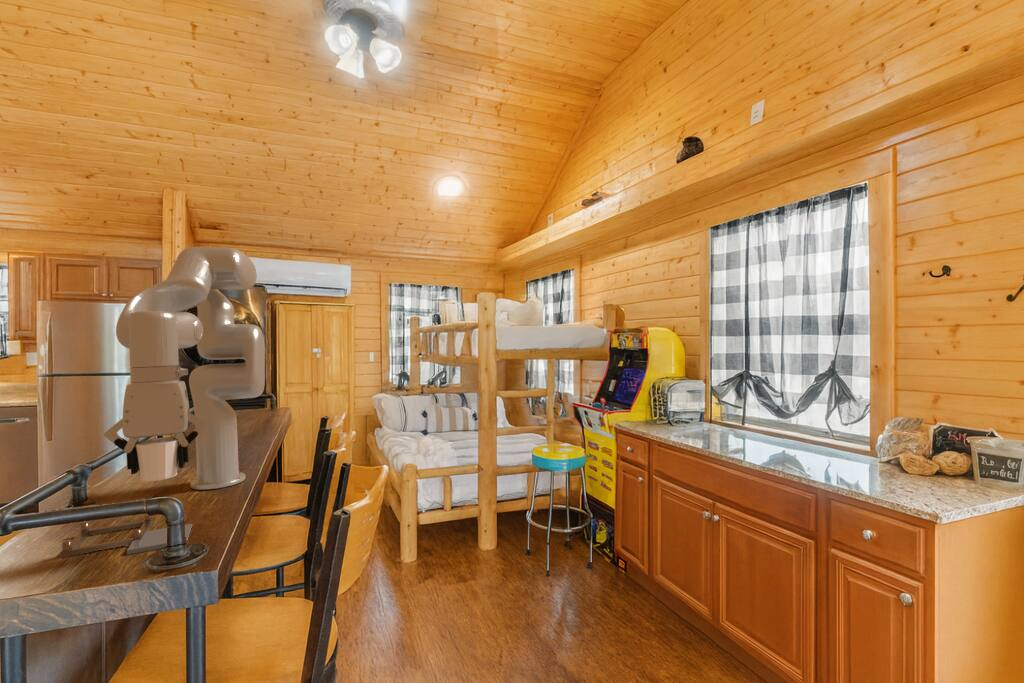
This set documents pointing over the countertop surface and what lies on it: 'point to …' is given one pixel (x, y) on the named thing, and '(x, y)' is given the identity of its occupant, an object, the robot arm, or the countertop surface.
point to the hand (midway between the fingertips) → (159, 468)
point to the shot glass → (157, 458)
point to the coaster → (153, 540)
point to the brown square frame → (74, 548)
